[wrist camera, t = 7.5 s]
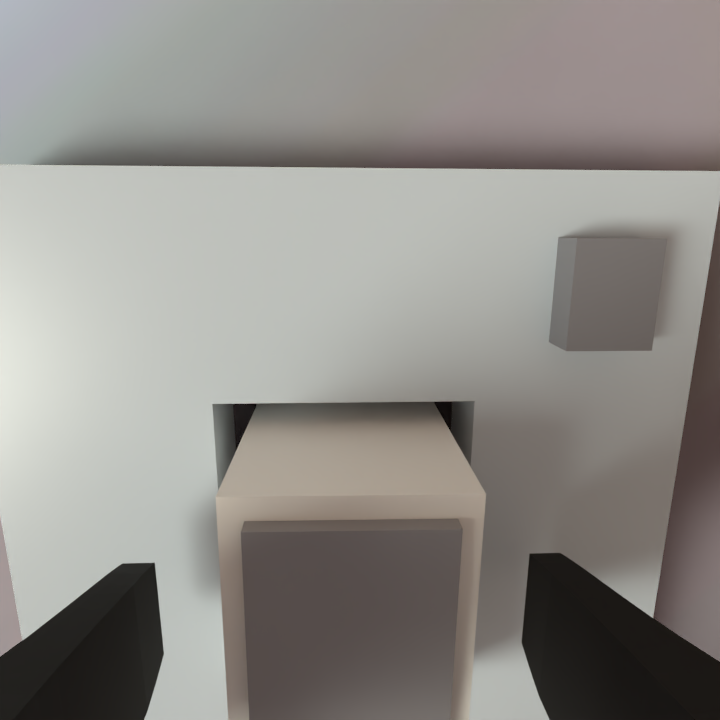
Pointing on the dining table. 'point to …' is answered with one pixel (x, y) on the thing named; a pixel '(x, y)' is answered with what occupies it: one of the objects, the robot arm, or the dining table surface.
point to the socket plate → (341, 369)
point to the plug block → (349, 564)
